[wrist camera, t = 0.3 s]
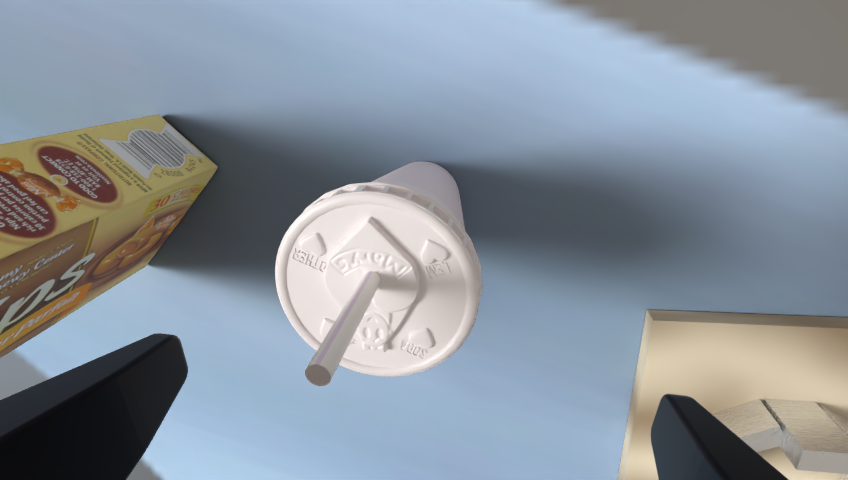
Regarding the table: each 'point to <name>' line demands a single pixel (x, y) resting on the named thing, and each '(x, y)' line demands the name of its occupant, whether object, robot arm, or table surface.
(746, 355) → the cap plate
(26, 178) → the candy box
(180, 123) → the table surface
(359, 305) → the smoothie
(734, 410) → the white crenellated ring
